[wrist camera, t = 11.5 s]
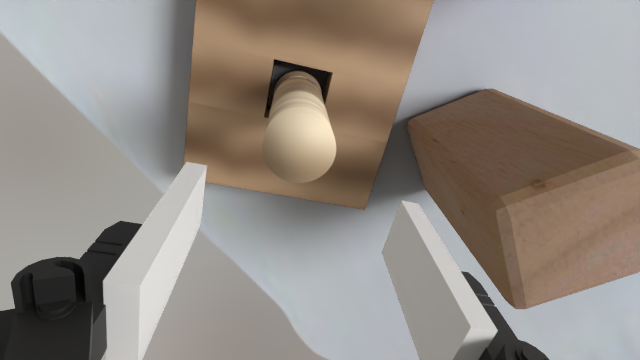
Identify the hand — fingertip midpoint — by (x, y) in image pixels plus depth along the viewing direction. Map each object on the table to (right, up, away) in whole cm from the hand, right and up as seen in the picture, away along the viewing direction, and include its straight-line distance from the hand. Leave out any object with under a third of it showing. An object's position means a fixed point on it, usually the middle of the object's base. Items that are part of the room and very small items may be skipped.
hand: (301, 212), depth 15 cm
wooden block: (+16, +6, +27) cm, 32 cm away
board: (-2, +11, +23) cm, 25 cm away
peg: (-2, +11, +23) cm, 25 cm away
